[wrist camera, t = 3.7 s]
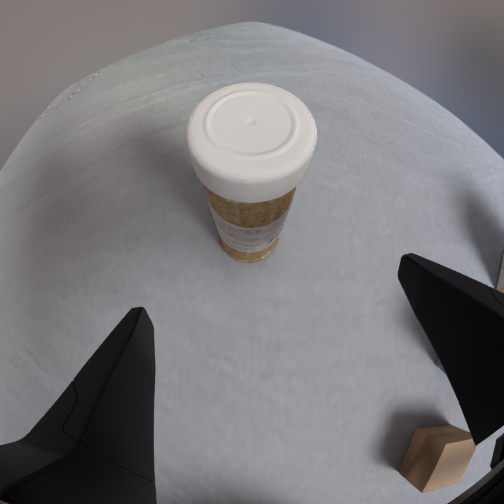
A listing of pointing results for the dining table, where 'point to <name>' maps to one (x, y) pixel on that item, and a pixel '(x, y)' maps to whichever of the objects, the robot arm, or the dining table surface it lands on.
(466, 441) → the walnut cube
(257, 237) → the sprinkles bottle
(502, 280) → the small box
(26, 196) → the dining table surface
